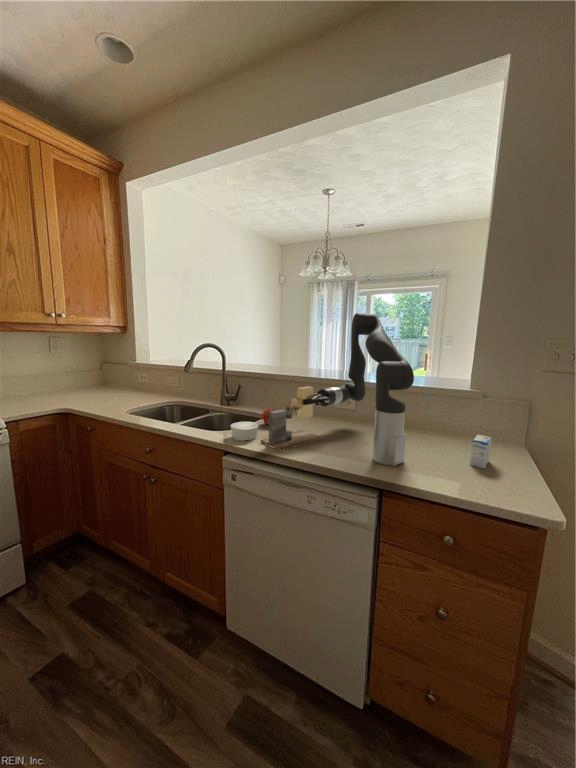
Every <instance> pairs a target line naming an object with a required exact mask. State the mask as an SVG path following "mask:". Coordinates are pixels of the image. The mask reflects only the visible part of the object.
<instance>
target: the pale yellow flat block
mask: <svg viewBox="0 0 576 768" xmlns="http://www.w3.org/2000/svg"><path fill="white" fill-rule="evenodd" d="M296 391H297V393H296V395H297V396H296V397H295V398H293V397H292V398H291V409H292V411H293V410H294V411H296V417H297V418H299V419H301V420H302V419H307V418H311V417H314V404H313V405H312V404H309V405H303V400H305V399H311V398H313V394H314V387H313V386H308V385H307V386H301V387H297V388H296Z"/></svg>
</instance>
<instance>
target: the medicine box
mask: <svg viewBox="0 0 576 768" xmlns="http://www.w3.org/2000/svg"><path fill="white" fill-rule="evenodd" d="M492 440H493V439H492V437H491V436H486V435H483V434H482V435H481V434H476V436H475V437H474V439H473V440H472V444H471V453H470V462H469V465H470V466H473V467H478V468H480V469H486V467H487V465H488V463H489V461H490V454H491V449H492V448H491V447H492Z"/></svg>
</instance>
